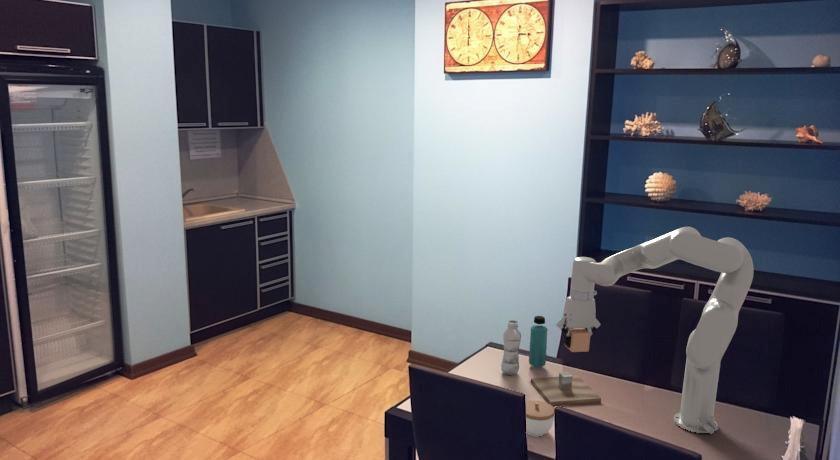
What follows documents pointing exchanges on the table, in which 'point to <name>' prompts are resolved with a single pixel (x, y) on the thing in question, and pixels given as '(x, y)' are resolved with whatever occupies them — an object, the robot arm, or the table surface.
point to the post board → (565, 390)
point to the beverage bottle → (538, 343)
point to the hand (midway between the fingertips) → (576, 345)
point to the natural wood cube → (579, 340)
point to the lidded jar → (538, 417)
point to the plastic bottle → (511, 349)
